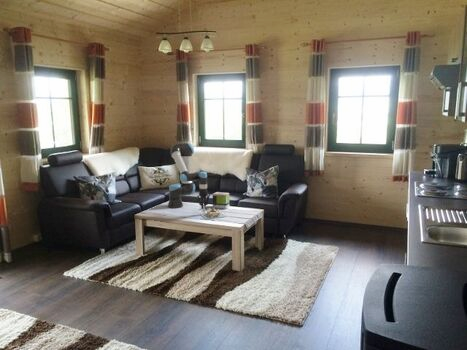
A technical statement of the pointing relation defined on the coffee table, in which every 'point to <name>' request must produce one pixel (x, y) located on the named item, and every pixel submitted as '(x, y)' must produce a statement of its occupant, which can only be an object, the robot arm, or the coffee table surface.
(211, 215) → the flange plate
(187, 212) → the coffee table surface
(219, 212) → the post base
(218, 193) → the tea box
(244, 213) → the coffee table surface
